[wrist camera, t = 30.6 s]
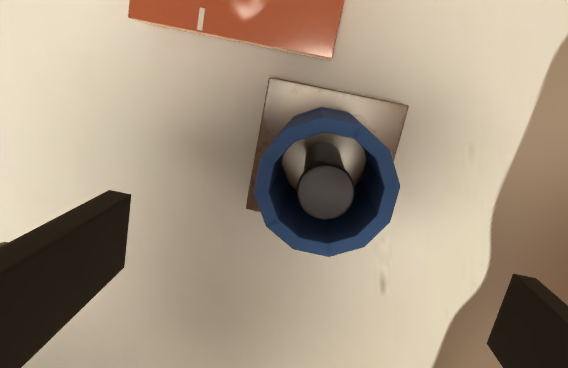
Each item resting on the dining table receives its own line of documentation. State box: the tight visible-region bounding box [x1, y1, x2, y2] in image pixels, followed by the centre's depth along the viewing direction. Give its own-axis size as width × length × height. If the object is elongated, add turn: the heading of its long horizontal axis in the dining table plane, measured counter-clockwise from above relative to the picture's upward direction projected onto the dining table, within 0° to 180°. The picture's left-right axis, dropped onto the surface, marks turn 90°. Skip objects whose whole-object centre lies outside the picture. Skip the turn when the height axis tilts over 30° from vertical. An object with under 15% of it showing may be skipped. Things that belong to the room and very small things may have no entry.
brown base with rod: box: [246, 78, 409, 219], centre depth 26 cm, size 10×10×11 cm
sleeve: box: [254, 107, 400, 257], centre depth 25 cm, size 8×8×8 cm
